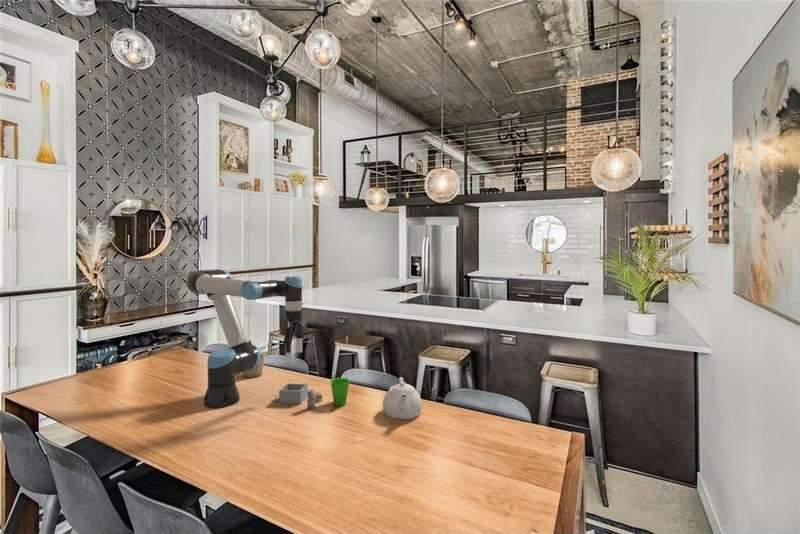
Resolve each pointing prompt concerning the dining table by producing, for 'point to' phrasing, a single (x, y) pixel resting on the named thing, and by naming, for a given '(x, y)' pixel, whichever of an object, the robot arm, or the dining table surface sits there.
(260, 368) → the planter
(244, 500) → the dining table surface
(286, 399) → the grey open box
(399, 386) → the teapot
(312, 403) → the lid
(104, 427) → the dining table surface
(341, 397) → the cup
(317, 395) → the maple block
